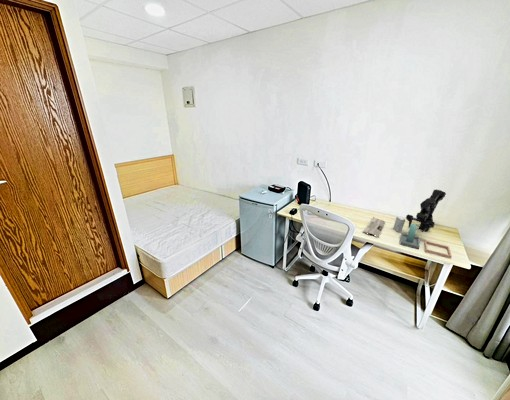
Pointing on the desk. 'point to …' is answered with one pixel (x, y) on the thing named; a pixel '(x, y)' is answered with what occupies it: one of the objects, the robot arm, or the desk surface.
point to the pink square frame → (438, 252)
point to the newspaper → (375, 226)
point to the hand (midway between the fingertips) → (415, 229)
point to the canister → (411, 233)
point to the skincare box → (399, 224)
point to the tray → (414, 244)
